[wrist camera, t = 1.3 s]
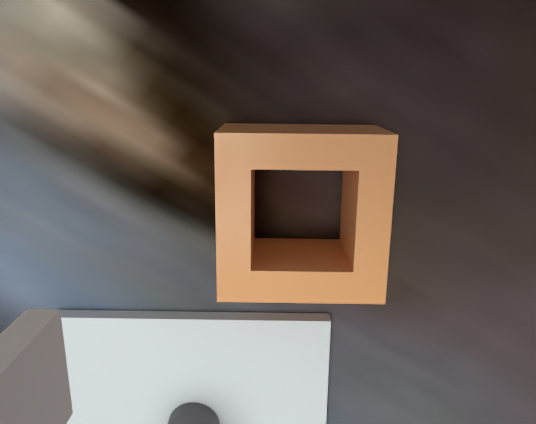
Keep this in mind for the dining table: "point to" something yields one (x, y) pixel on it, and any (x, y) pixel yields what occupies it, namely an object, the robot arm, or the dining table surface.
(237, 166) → the collar
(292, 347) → the post stand
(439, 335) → the dining table surface
